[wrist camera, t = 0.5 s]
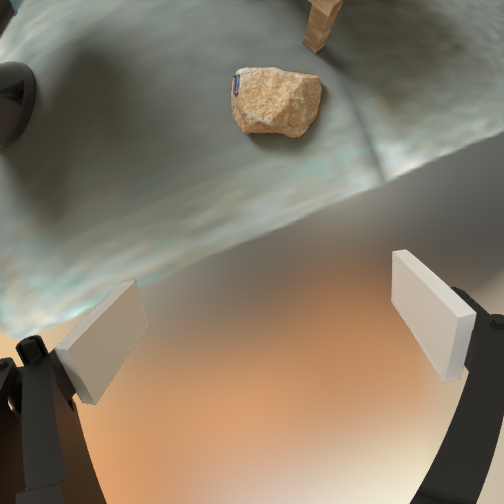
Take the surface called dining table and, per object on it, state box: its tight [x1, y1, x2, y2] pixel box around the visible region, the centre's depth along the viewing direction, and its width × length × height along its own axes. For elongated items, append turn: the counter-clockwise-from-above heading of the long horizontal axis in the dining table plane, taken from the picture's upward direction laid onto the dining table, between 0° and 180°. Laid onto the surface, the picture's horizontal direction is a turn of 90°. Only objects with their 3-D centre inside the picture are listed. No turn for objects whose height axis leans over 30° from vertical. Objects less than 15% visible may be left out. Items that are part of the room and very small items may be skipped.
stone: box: [231, 67, 322, 138], centre depth 32 cm, size 8×10×4 cm
